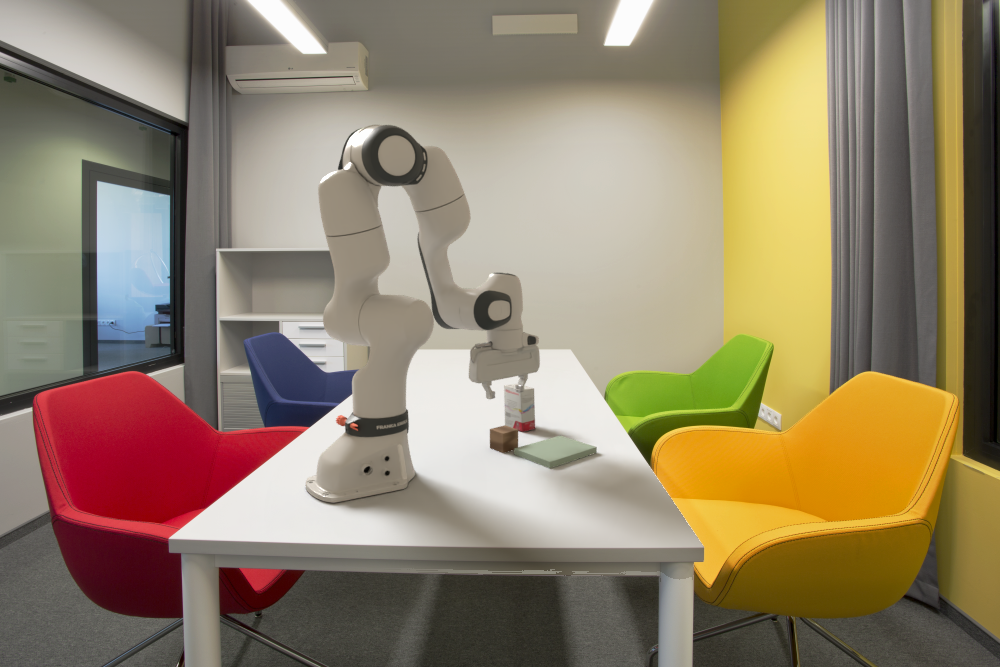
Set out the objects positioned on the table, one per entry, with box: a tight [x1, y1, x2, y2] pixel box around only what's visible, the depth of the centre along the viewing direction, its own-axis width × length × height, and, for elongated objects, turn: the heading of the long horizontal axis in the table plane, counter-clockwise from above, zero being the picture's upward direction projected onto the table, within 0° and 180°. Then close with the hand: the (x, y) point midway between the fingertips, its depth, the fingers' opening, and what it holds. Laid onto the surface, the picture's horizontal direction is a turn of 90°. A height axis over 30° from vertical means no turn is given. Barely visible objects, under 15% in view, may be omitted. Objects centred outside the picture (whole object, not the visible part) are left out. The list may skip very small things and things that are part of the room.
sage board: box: [513, 435, 598, 469], centre depth 130 cm, size 16×12×2 cm
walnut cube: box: [489, 424, 519, 454], centre depth 134 cm, size 5×5×5 cm
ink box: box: [503, 383, 536, 433], centre depth 151 cm, size 9×5×12 cm, turn 34°
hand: (505, 395), depth 133 cm, fingers open, 8 cm apart
